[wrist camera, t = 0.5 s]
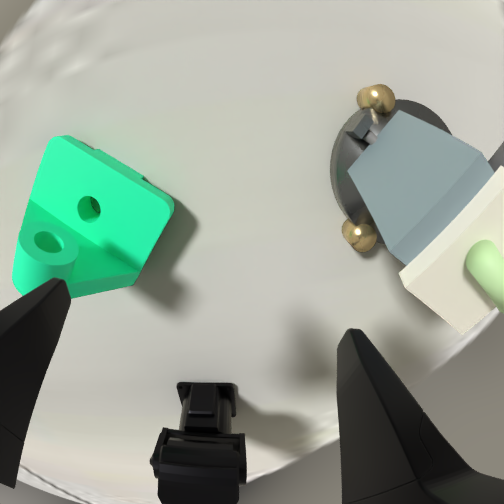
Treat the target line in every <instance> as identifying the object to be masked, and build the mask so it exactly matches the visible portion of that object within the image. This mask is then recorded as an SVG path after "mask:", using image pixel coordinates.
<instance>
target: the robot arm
mask: <svg viewBox="0 0 504 504" xmlns="http://www.w3.org/2000/svg"><path fill="white" fill-rule="evenodd" d="M70 304H71V296H70V293H69V290H68V287H67V284H66V281H65V280H64V279H61V278H57V277H54V278H52V279H50V280H48V281H47V282H45V283H43V284H42V285H40V286H38V287H37V288H35V289H33V290H32V291H30V292H29V293H27V294H25V295H24V296H22V297H21V298H19V299H18V300H16V301H14V302H13V303H11V304H10V305H8V306H7V307H5V308H4V309H2V310H1V311H0V483H2V484H4V485H6V486H9V487H11V488H13V489H14V488H15V485H16V479H17V474H18V469H19V464H20V459H21V455H22V450H23V446H24V441H25V438H26V434H27V430H28V426H29V423H30V419H31V416H32V413H33V409H34V406H35V403H36V400H37V397H38V394H39V391H40V388H41V385H42V382H43V380H44V377H45V374H46V371H47V369H48V366H49V364H50V361H51V358H52V356H53V353H54V351H55V348H56V346H57V343H58V341H59V338H60V334H61V331H62V328H63V325H64V322H65V319H66V316H67V313H68V310H69V307H70ZM177 391H178V394H179V397H180V401H181V404H182V413H181V419H180V426H179V430H174V429H168V428H164V427H163V429H162V432H161V433H160V435H159V438H158V441H157V444H156V447H155V450H154V453H153V455H152V457H151V458H150V464H151V465H152V467H153V470H154V476H155V478H158V497H159V499H160V501H161V503H162V504H237V502H238V500H239V486H245V485H246V478H247V462H246V447H245V433H239V434H231V417H235V416H236V407H235V395H234V385H233V384H231V383H184V382H179V383H177ZM337 406H338V419H339V433H340V448H341V449H340V450H341V475H342V504H504V480H502V479H499V478H495V477H492V476H488V475H485V474H482V473H479V472H477V471H475V470H474V469H472V468H471V467H470V466H469V465H468V464H467V463H466V462H465V461H464V460H463V459H462V457H461V456H460V455H459V454H458V453H457V452H456V451H455V449H454V448H453V447H452V446H451V445H450V444H449V443H448V441H447V440H446V439H445V438H444V437H443V435H442V434H441V433H440V432H439V431H438V429H437V428H436V427H435V425H434V424H433V423H432V421H431V420H430V419H429V417H428V416H427V415H426V413H425V412H423V409H422V408H421V407H420V405H419V404H418V403H417V401H416V400H415V399H414V397H413V396H412V395H411V393H410V392H409V391H408V389H407V388H406V387H405V385H404V384H403V383H402V381H401V380H400V379H399V377H398V376H397V375H396V373H395V372H394V371H393V370H392V368H391V367H390V366H389V364H388V363H387V362H386V360H385V359H384V358H383V357H382V355H381V354H380V353H379V351H378V350H377V349H376V348H375V346H374V345H373V344H372V343H371V341H370V340H369V339H368V337H367V336H366V335H365V334H364V332H363V331H362V330H360V329H353V328H349V329H348V330H347V331H346V332H345V334H344V336H343V338H342V339H341V341H340V343H339V345H338V348H337Z"/></svg>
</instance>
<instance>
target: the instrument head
mask: <svg viewBox="0 0 504 504" xmlns="http://www.w3.org/2000/svg"><path fill="white" fill-rule="evenodd" d="M363 139H364V140H366V141H367V142H368V143H369V144H370V145H369V146H368V147H367V148H366V149H365V151H364V152H363V153H362V154H361V155H360V156H359V158H358V159H357V160H356V161H355V162H354V163H353V165H352V166H351V167H350V168H349V169H348V170H347V171H348V173H349V175H350V177H351V178H352V180H353V182H354V184H355V185H356V187H357V189H358V191H359V193H360V194H361V196H362V198H363V200H364V202H365V204H366V206H367V208H368V210H369V211H370V213H371V215H372V217H373V219H374V221H375V223H376V225H377V227H378V229H379V231H380V233H381V235H382V237H383V240H384V242H385V244H386V246H387V248H388V250H389V252H390V253H391V254H393V255H394V256H395V257H396V258H397V259H399V260H400V261H401V262H402V263H403V264H405V265H406V267H405V268H404V269H403V270H402V271H400V272H399V275H400V278H401V280H402V282H403V285H404V287H405V288H406V289H407V290H408V291H409V292H411V293H412V294H413V295H414V296H416V297H417V298H418V299H419V300H421V301H422V302H423V303H424V304H426V305H427V306H428V307H429V308H431V309H432V310H433V311H434V312H435V313H437V314H438V315H439V316H440V317H441V318H443V319H444V320H445V321H446V322H447V323H449V324H450V325H451V326H452V327H453V328H454V329H456V330H457V331H458V332H459V333H460V334H461V335H463V334H464V333H465V332H467V331H468V330H469V329H470V328H472V327H473V326H474V325H475V324H477V323H478V322H479V321H480V320H481V319H483V318H484V317H485V316H486V315H487V314H488V313H489V312H491V311H492V310H493V309H494V308H495V307H497V308H498V310H499V311H500V312H501V313H503V314H504V142H503V143H502V144H501V146H500V147H499V148H498V150H497V151H496V152H495V153H494V155H493V156H492V157H491V159H490V160H489V161H487V160H486V158H485V157H484V155H483V154H482V152H480V151H479V150H477V149H475V148H474V147H472V146H470V145H469V144H467V143H465V142H463V141H461V140H460V139H458V138H456V137H454V136H452V135H450V134H449V133H447V132H445V131H443V130H441V129H439V128H437V127H435V126H433V125H431V124H429V123H427V122H425V121H423V120H420V119H418V118H416V117H414V116H412V115H409V114H407V113H405V112H403V111H400V110H398V112H397V113H396V114H395V115H394V116H393V118H392V119H391V120H390V121H389V122H388V123H387V125H386V126H385V127H384V128H383V129H382V131H381V132H380V133H379V134H378V135H377V136H376V135H375V134H374V133H373V132H372V131H371V130H368V131H367V132H366V134H365V135H364V137H363Z"/></svg>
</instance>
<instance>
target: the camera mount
mask: <svg viewBox="0 0 504 504" xmlns="http://www.w3.org/2000/svg"><path fill="white" fill-rule="evenodd" d="M143 177H144V176H143V175H141V174H140V173H138V172H136V171H135V170H133V169H131V168H130V167H128V166H126V165H125V164H123V163H121V162H120V161H118V160H116V159H115V158H113V157H111V156H110V155H108V154H106V153H105V152H103V151H101V150H100V149H96V150H93V149H91V148H90V147H88V146H86V145H85V144H83V143H82V142H80V141H78V140H77V139H75V138H73V137H72V136H69V135H64V136H57V137H53V138H52V139H51V140H50V141H49V142H48V145H47V147H46V150H45V152H44V155H43V158H42V161H41V164H40V166H39V169H38V172H37V175H36V178H35V182H34V185H33V188H32V192H31V195H30V199H29V202H28V205H27V208H26V212H25V215H24V219H23V223H22V227H21V230H20V232H19V236H18V241H17V246H16V252H15V258H14V264H13V271H12V280H13V283H14V285H15V287H16V289H17V290H18V291H19V292H20V293H21V294H22V295H23V296H24V295H25V294H27V293H29V292H30V291H32V290H33V289H35V288H37V287H38V286H40V285H42V284H43V283H45V282H47V281H48V280H50V279H52V278H54V277H57V278H61V279H64V280H65V281H66V284H67V287H68V290H69V293H70V296H71V299H72V298H76V297H81V296H86V295H90V294H95V293H100V292H104V291H109V290H113V289H118V288H123V287H127V286H132V285H133V284H134V283H135V281H136V279H137V278H138V276H139V274H140V272H141V270H142V268H143V267H144V265H145V263H146V261H147V259H148V257H149V255H150V253H151V252H152V250H153V248H154V246H155V244H156V242H157V241H158V239H159V237H160V235H161V233H162V232H163V230H164V228H165V226H166V225H167V223H168V221H169V219H170V218H171V216H172V214H173V212H174V202H173V200H172V198H171V197H170V196H169V195H167V194H166V193H164V192H162V191H161V190H159V189H157V188H156V187H154V186H152V185H151V184H149V183H148V182H146V181H144V180H143ZM91 197H93V198H95V199H96V200H97V201H98V203H99V205H100V210H101V212H100V213H97V212H96V211H95V210H94V209H93V207H92V205H91Z"/></svg>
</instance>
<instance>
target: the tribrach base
mask: <svg viewBox="0 0 504 504" xmlns="http://www.w3.org/2000/svg"><path fill="white" fill-rule="evenodd" d="M357 102H358V105H359V107H360V108H361V109H360V110H359V111H357V112H356V113H355V114H353V115H352V116H351V117H350V118H349V119H348V121H347V122H346V123H345V124H344V125H343V127H342V129H341V130H340V132H339V134H338V136H337V138H336V141H335V143H334V147H333V150H332V155H331V161H330V176H331V184H332V189H333V192H334V195H335V198H336V200H337V203H338V205H339V207H340V208H341V210H342V211H343V213H344V214H345V216H346V217H347V218H348V219H347V220H346V221H345V222H344V224H343V226H342V234H343V236H344V238H345V239H346V240H347V241H348V242H349V243H350V244H351V246H352V247H353V248H354V249H355V250H356V251H358V252H366V251H368V250H370V249H371V248H372V247H373V246H374V245H375V243H376V241H377V242H379V243H383V244H385V242H384V240H383V237H382V235H381V233H380V231H379V229H378V227H377V225H376V223H375V221H374V219H373V217H372V215H371V213H370V211H369V210H368V208H367V206H366V204H365V202H364V200H363V198H362V196H361V194H360V193H359V191H358V189H357V187H356V185H355V184H354V182H353V180H352V178H351V177H350V175H349V173H348V171H347V170H348V169H349V168H350V167H351V166H352V165H353V163H354V162H355V161H356V160H357V159H358V158H359V156H360V155H361V154H362V153H363V152H364V151H365V149H366V148H367V147H368V146H369V145H370V144H369V143H368V142H367V141H366V140H364V139H363V137H364V135H365V134H366V132H367V131H368V130H371V131H372V132H373V133H374V134H375V135H376V136H377V135H378V134H379V133H380V132H381V131H382V129H383V128H384V127H385V126H386V125H387V123H388V122H389V121H390V120H391V119H392V118H393V116H394V115H395V114H396V113H397V112H398V110H400V111H403V112H405V113H407V114H409V115H412V116H414V117H416V118H418V119H420V120H423V121H425V122H427V123H429V124H431V125H433V126H435V127H437V128H439V129H441V130H443V131H445V132H447V133H449V134H450V135H452V134H451V132H450V131H449V129H448V127H447V126H446V125H445V123H444V122H443V121H442V119H441V118H440V117H439V116H438V115H437V114H435V113H434V112H433V111H432V110H430V109H429V108H427V107H425V106H424V105H422V104H419V103H417V102H414V101H409V100H400V99H398V100H395V96H394V93H393V92H392V90H391V89H390V88H389V87H387V86H386V85H383V84H377V85H374V86H370V87H366V88H363V89H361V90H360V91H359V93H358V95H357Z"/></svg>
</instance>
